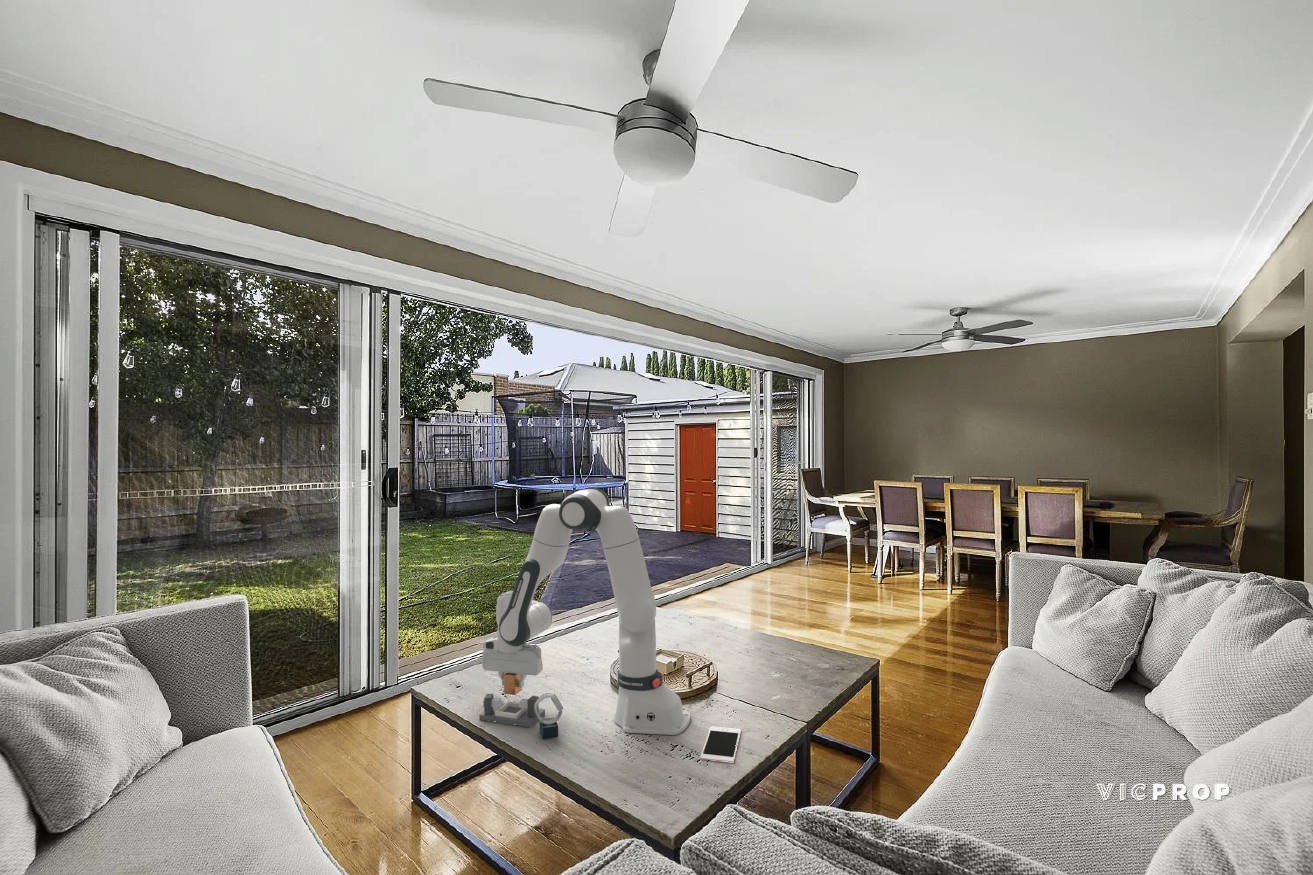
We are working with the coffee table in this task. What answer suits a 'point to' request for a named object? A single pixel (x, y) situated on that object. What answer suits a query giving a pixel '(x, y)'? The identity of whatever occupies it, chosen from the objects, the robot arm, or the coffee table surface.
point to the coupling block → (511, 683)
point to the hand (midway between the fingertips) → (512, 685)
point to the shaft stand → (511, 711)
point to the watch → (550, 724)
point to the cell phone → (721, 744)
